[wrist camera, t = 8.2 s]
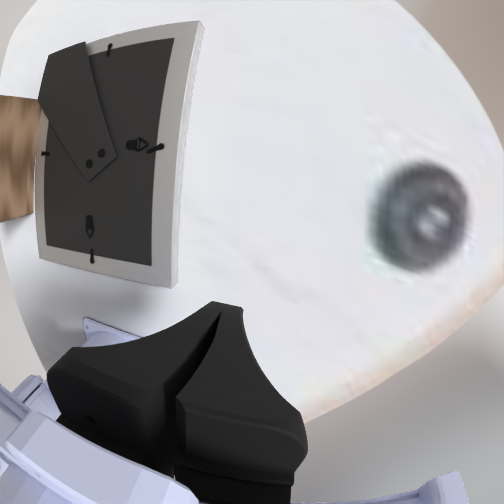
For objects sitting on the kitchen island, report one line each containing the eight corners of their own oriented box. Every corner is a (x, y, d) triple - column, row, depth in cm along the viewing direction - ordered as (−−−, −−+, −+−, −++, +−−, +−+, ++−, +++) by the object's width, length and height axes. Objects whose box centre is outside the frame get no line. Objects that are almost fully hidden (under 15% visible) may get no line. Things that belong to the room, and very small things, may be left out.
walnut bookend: (33, 212, 21) (-16, 227, 15) (19, 210, 21) (-26, 223, 15) (43, 100, 18) (-6, 94, 11) (29, 104, 18) (-18, 100, 11)
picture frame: (65, 60, 17) (52, 252, 23) (48, 54, 14) (34, 260, 20) (206, 31, 16) (180, 278, 22) (196, 15, 13) (167, 293, 19)
